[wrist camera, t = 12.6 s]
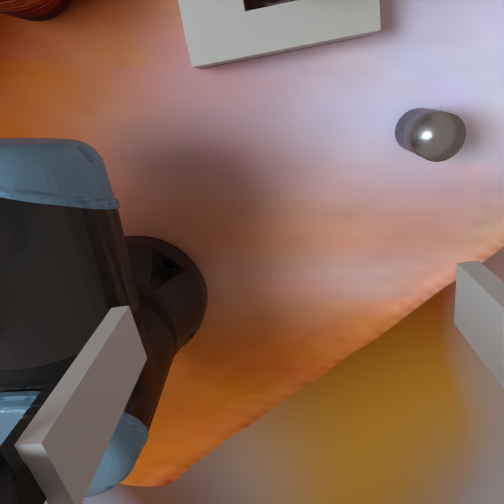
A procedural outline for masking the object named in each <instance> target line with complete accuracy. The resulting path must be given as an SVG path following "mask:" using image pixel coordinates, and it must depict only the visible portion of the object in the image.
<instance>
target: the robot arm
mask: <svg viewBox="0 0 504 504" xmlns="http://www.w3.org/2000/svg"><path fill="white" fill-rule="evenodd" d="M118 208H119V202H118V200H117V199H115V197H114V194H113V191H112V188H111V185H110V182H109V178H108V175H107V172H106V169H105V165H104V162H103V160H102V158H101V156H100V155H99V153H98V152H97V151H96V150H95V149H94V148H92V147H91V146H90V145H88V144H86V143H84V142H81V141H78V140H72V139H52V138H0V504H44V502H45V500H47V502H48V504H82V502H83V500H84V498H85V497H89V496H94V495H98V494H101V493H104V492H106V491H108V490H110V489H111V488H113V487H115V486H116V485H117V484H118V483H120V482H121V481H123V480H124V479H125V478H126V477H127V476H128V475H129V474H130V472H131V471H132V469H133V467H134V465H135V463H136V461H137V459H138V457H139V455H140V452H141V450H142V448H143V446H144V445H145V443H146V442H147V439H148V436H149V435H148V431H149V428H150V425H151V423H152V420H153V417H154V414H155V411H156V408H157V405H158V402H159V399H160V396H161V393H162V390H163V387H164V384H165V382H166V379H167V376H168V373H169V370H170V367H171V364H172V361H173V358H174V355H175V354H176V353H177V352H178V351H179V349H180V348H181V347H182V346H183V345H185V344H186V343H187V342H188V341H189V340H190V339H191V338H192V337H193V336H194V335H195V334H196V332H197V331H198V329H199V327H200V325H201V323H202V320H203V317H204V314H205V310H206V306H207V289H206V285H205V282H204V279H203V277H202V274H201V273H200V271H199V269H198V268H197V266H196V265H195V264H194V262H193V261H192V260H191V259H190V258H189V257H188V256H187V255H186V254H185V253H183V252H182V251H181V250H179V249H178V248H176V247H175V246H173V245H171V244H169V243H167V242H164V241H162V240H159V239H155V238H151V237H145V236H129V237H124V234H123V229H122V225H121V221H120V216H119V212H118ZM454 324H455V325H456V327H457V328H458V329H459V331H460V332H461V333H462V334H463V336H464V337H465V338H466V340H467V341H468V342H469V344H470V345H471V346H472V348H473V349H474V350H475V351H476V353H477V354H478V355H479V357H480V358H481V359H482V361H483V362H484V363H485V365H486V366H487V367H488V368H489V370H490V371H491V372H492V374H493V375H494V376H495V377H496V379H497V380H498V382H499V383H500V384H501V385H502V387H503V388H504V282H503V281H501V280H500V279H499V278H498V277H497V276H495V275H494V274H493V273H492V272H491V271H490V270H489V269H487V268H486V267H485V266H484V265H483V264H482V263H480V262H479V261H472V262H464V263H457V275H456V296H455V317H454Z"/></svg>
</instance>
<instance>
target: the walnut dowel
mask: <svg viewBox="0 0 504 504" xmlns="http://www.w3.org/2000/svg"><path fill="white" fill-rule="evenodd" d="M264 1H266V2H270V3H275V2H279V1H281V0H264Z"/></svg>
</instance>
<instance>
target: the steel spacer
mask: <svg viewBox="0 0 504 504" xmlns="http://www.w3.org/2000/svg"><path fill="white" fill-rule="evenodd" d="M465 135H466V130H465V126H464V123H463V121H462V120H461V119H460V118H459V117H458V116H457V115H455V114H452V113H447V112H441V111H435V110H429V109H423V108H416V109H412V110H410V111H408V112H406V113H405V114H404V115H403V116H402V117H401V118H400V119H399V121H398V123H397V125H396V129H395V137H396V140H397V142H398V144H399V145H400V146H401V147H403V148H404V149H406V150H408V151H410V152H412V153H414V154H416V155H419V156H421V157H423V158H425V159H427V160H429V161H433V162H440V161H444V160H447V159H449V158H451V157H452V156H454V155H455V154H456V153H457V152H458V151H459V150H460V148H461V147H462V145H463V143H464V140H465Z"/></svg>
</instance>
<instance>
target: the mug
mask: <svg viewBox="0 0 504 504" xmlns="http://www.w3.org/2000/svg"><path fill="white" fill-rule="evenodd" d="M71 1H72V0H0V13H2V14H6V15H10V16H14V17H17V18H21V19H25V20H31V21H42V20H48V19H51V18H53V17H55V16H57V15H59V14H60V13H61V12H63V11H64V10H65V9H66V7H67V6H68V5H69V4H70V2H71Z"/></svg>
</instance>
